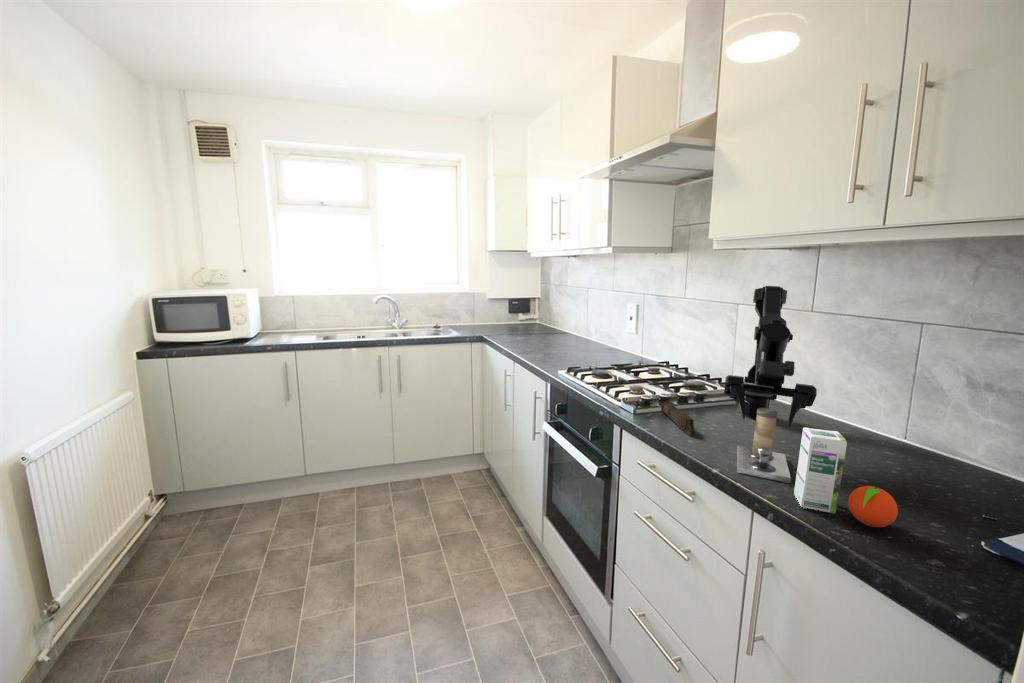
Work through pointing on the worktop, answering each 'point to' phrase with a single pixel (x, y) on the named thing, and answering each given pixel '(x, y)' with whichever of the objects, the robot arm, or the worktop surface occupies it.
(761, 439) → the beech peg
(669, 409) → the brown rough bar
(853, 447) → the worktop surface
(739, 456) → the plate
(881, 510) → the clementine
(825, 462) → the syrup box
